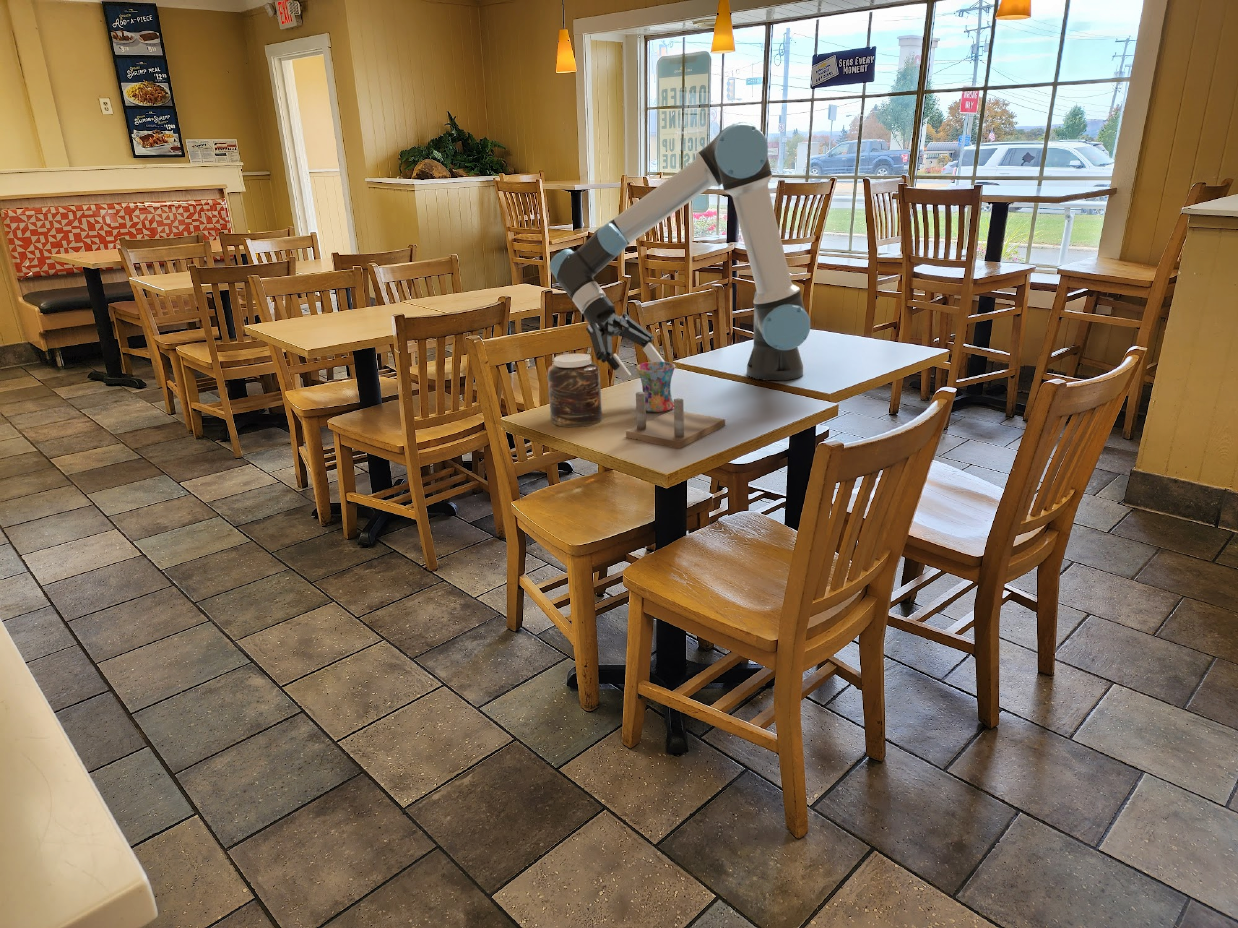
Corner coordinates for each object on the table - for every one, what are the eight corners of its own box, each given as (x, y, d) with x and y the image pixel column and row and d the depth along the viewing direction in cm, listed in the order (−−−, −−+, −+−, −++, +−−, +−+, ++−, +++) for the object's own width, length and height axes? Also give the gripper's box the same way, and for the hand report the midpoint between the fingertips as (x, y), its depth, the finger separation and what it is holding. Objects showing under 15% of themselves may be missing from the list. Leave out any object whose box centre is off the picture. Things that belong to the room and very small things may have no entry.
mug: (665, 416, 189) (664, 372, 186) (631, 412, 194) (629, 369, 190) (687, 402, 199) (686, 360, 195) (653, 399, 204) (652, 357, 200)
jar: (583, 409, 198) (579, 349, 192) (611, 419, 189) (608, 357, 184) (542, 420, 191) (537, 357, 186) (569, 431, 182) (564, 366, 177)
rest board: (673, 415, 189) (672, 376, 186) (725, 425, 181) (725, 384, 178) (626, 437, 176) (624, 395, 173) (679, 448, 168) (678, 404, 165)
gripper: (618, 307, 210) (666, 370, 207) (552, 324, 192) (604, 393, 189) (633, 287, 205) (683, 352, 202) (567, 303, 187) (620, 374, 184)
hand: (645, 372), depth 195 cm, fingers open, 13 cm apart
